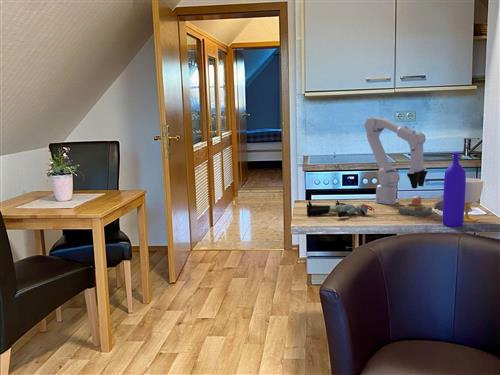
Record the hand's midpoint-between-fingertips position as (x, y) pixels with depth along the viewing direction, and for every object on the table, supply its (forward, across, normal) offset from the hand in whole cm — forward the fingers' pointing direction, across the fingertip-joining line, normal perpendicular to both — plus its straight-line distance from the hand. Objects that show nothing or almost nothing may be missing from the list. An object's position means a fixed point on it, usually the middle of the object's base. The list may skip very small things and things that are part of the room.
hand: (417, 187), depth 243 cm
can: (+10, 0, +1) cm, 10 cm away
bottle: (+12, -23, -24) cm, 35 cm away
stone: (+11, +8, -13) cm, 19 cm away
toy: (+10, -31, +24) cm, 40 cm away
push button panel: (+10, -11, -3) cm, 15 cm away
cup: (+12, -9, -25) cm, 29 cm away
